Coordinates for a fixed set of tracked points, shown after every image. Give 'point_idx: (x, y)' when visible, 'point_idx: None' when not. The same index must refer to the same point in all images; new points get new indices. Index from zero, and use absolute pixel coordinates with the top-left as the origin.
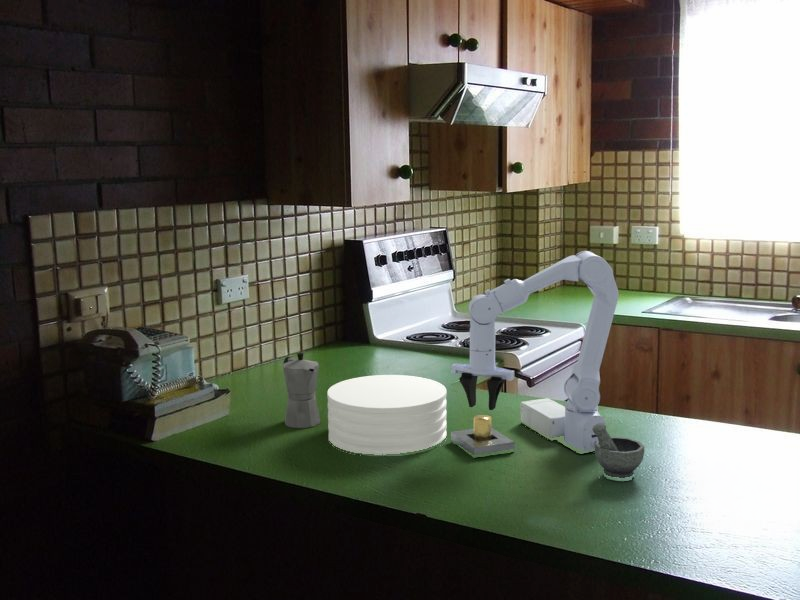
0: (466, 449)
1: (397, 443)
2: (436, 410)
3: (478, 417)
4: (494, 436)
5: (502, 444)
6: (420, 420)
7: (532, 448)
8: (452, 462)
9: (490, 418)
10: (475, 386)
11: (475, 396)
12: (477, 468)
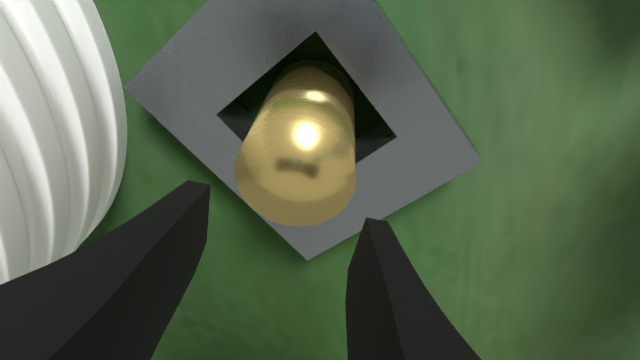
0: None
1: None
2: (2, 264)
3: (268, 182)
4: (370, 100)
5: (421, 194)
6: None
7: (567, 60)
8: (247, 267)
9: (351, 185)
10: (124, 302)
11: (179, 225)
12: (340, 293)
